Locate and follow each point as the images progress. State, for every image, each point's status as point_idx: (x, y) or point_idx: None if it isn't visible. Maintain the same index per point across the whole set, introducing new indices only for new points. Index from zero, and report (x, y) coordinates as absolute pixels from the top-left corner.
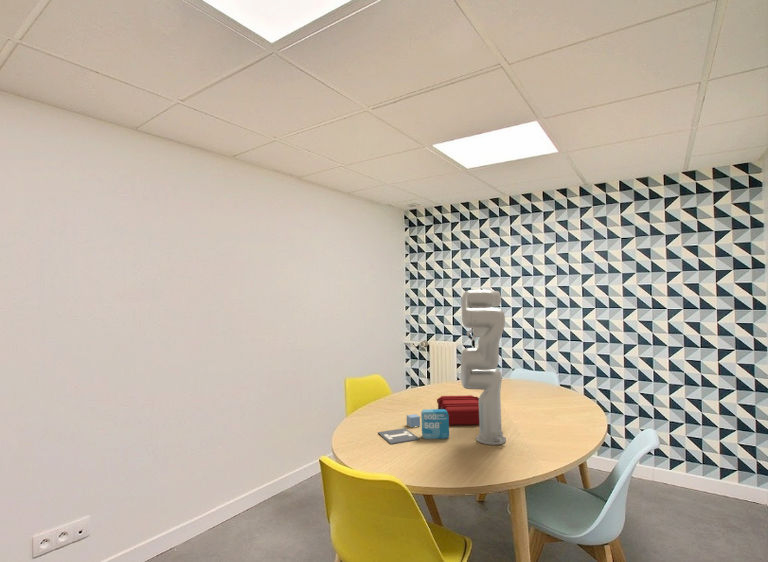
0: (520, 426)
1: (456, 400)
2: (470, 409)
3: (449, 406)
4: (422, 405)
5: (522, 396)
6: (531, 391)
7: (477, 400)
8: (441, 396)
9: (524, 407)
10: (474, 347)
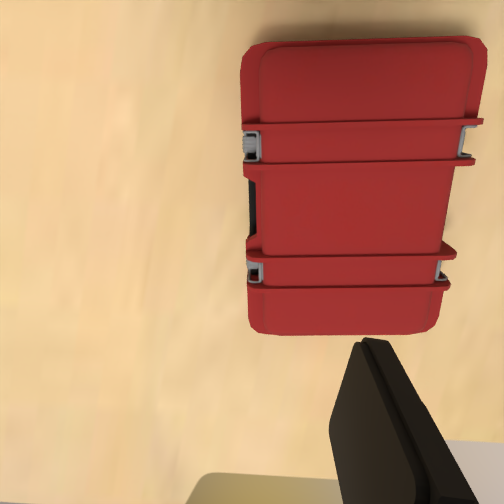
0: (112, 36)
1: (371, 243)
2: (345, 54)
3: (444, 119)
4: (460, 357)
5: (52, 443)
6: (14, 495)
7: (262, 254)
8: (422, 323)
9: (61, 311)
10: (372, 344)
